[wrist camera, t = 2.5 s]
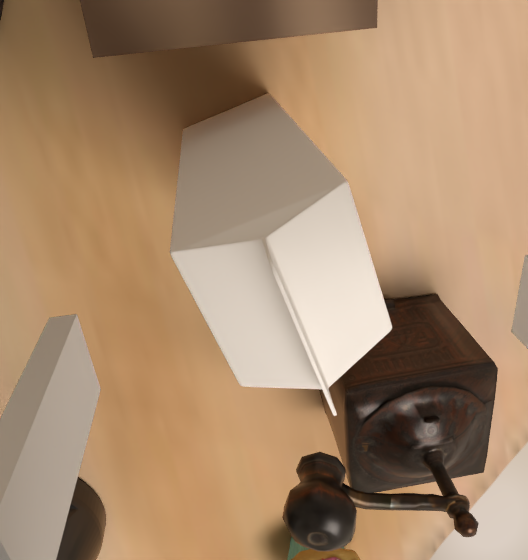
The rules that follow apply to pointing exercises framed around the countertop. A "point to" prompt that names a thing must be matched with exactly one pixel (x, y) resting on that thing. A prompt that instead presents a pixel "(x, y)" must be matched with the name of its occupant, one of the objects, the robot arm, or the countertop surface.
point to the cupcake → (319, 553)
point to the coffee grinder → (400, 427)
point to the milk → (274, 250)
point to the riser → (214, 22)
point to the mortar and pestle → (1, 7)
